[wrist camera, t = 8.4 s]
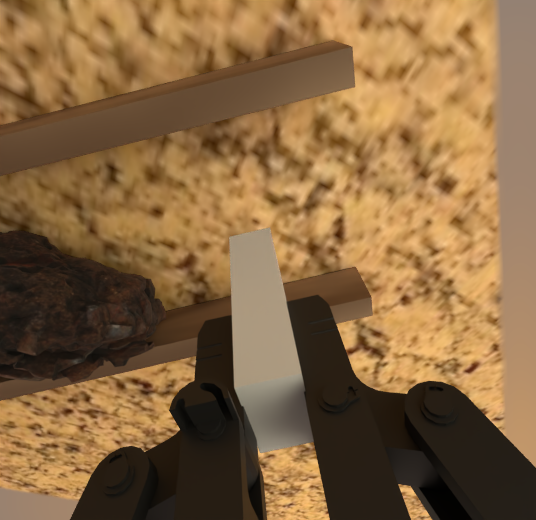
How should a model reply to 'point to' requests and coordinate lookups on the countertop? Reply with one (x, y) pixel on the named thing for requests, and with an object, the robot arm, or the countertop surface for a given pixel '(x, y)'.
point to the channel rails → (172, 120)
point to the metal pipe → (68, 312)
